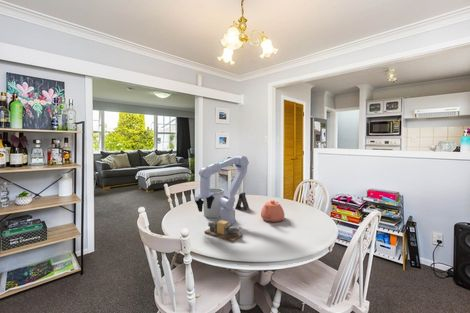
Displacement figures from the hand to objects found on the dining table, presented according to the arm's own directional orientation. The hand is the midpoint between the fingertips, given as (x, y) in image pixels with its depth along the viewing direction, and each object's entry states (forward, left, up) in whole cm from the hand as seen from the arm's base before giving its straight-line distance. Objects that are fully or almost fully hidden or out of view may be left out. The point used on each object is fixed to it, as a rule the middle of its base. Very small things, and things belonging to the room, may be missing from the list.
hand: (204, 210), depth 139 cm
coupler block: (+3, +16, -9) cm, 18 cm away
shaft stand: (+3, +16, -10) cm, 19 cm away
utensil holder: (-20, -11, -11) cm, 25 cm away
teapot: (-35, +27, -11) cm, 46 cm away
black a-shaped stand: (-43, -2, -11) cm, 45 cm away
